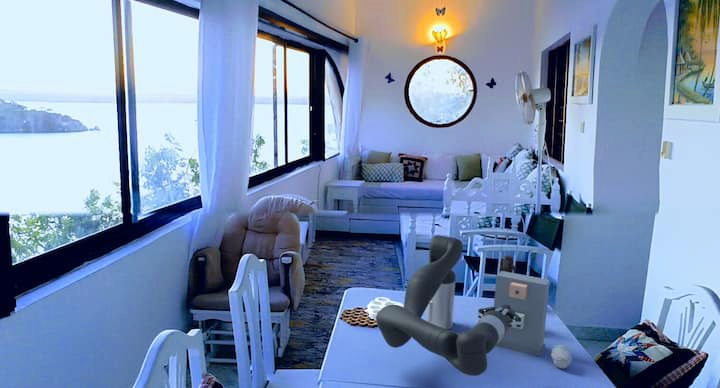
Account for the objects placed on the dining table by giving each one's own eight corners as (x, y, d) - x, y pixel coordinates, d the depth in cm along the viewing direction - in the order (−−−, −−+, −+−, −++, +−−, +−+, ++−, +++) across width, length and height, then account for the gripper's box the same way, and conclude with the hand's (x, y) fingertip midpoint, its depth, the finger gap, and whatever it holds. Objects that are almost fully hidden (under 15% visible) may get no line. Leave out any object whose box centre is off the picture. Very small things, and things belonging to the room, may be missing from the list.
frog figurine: (565, 361, 167) (567, 341, 166) (574, 372, 160) (577, 351, 159) (546, 361, 167) (548, 340, 166) (555, 372, 160) (557, 350, 159)
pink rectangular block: (524, 300, 167) (525, 288, 166) (508, 296, 169) (509, 284, 169) (526, 296, 170) (527, 285, 169) (511, 293, 172) (512, 282, 172)
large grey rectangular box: (540, 356, 170) (547, 286, 166) (488, 343, 178) (494, 275, 174) (545, 347, 177) (551, 279, 173) (495, 335, 185) (500, 269, 181)
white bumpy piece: (399, 325, 191) (360, 321, 194) (405, 307, 209) (369, 303, 211) (400, 317, 191) (360, 312, 193) (405, 299, 208) (369, 295, 211)
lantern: (516, 303, 216) (522, 232, 211) (513, 310, 209) (519, 237, 204) (496, 300, 219) (502, 230, 214) (492, 306, 212) (498, 234, 207)
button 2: (521, 329, 169) (522, 317, 168) (506, 325, 171) (507, 314, 170) (524, 325, 171) (525, 314, 171) (508, 322, 174) (509, 310, 173)
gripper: (516, 321, 139) (530, 300, 154) (468, 310, 146) (486, 291, 160) (514, 347, 141) (528, 324, 155) (466, 335, 147) (484, 314, 162)
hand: (507, 307), depth 158 cm, fingers closed
